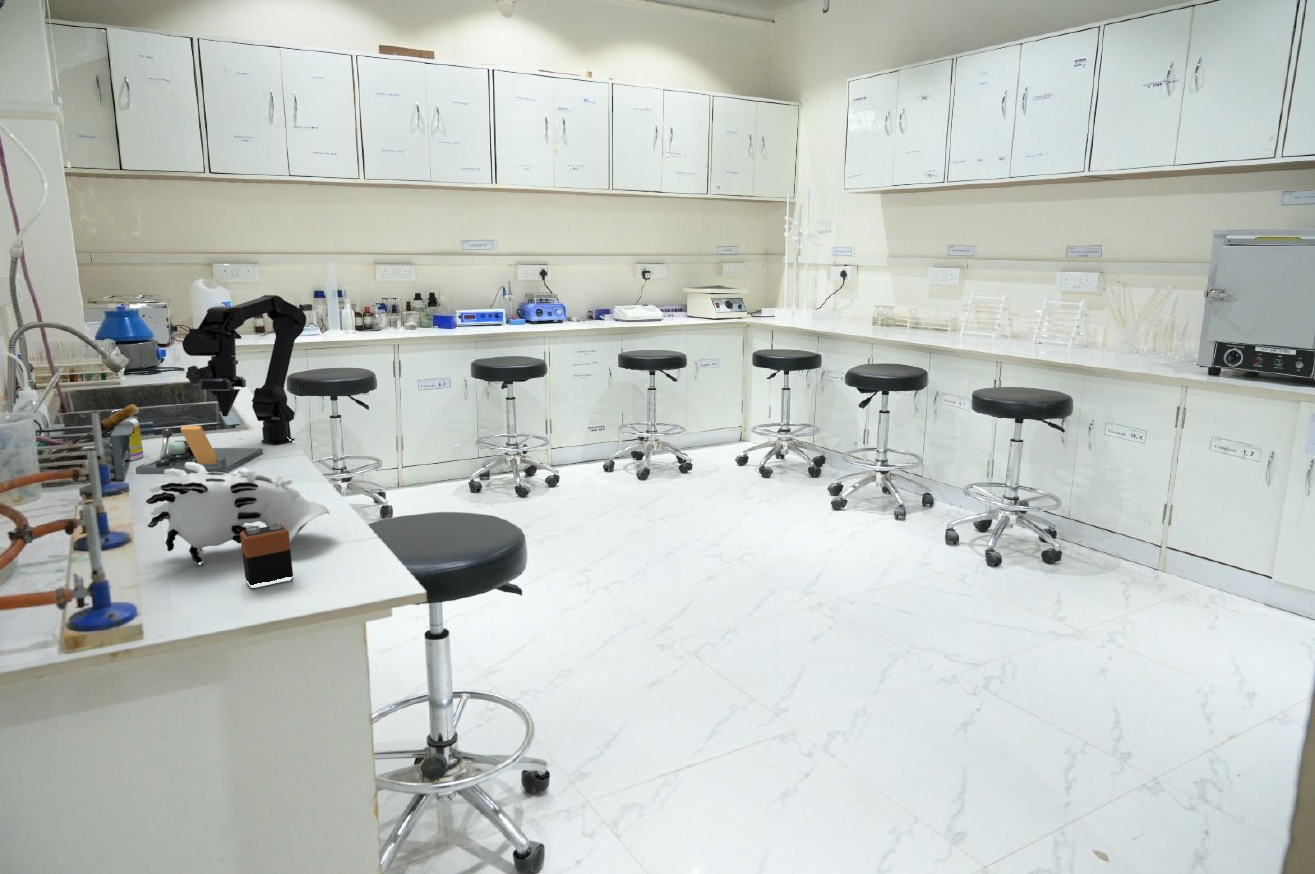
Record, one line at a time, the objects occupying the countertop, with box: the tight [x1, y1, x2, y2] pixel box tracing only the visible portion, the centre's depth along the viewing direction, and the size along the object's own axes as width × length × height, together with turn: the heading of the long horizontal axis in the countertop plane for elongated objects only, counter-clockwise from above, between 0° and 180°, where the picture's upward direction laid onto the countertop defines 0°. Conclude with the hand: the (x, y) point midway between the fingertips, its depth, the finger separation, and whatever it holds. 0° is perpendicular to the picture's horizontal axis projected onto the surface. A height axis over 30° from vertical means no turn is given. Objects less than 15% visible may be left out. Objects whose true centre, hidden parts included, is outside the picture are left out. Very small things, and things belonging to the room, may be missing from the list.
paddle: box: [180, 425, 218, 467], centre depth 202 cm, size 2×5×13 cm
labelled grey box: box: [174, 439, 189, 446], centre depth 220 cm, size 7×4×1 cm, turn 0°
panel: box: [135, 446, 264, 475], centre depth 215 cm, size 21×22×4 cm
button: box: [167, 440, 185, 454], centre depth 214 cm, size 4×4×2 cm
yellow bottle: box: [111, 408, 144, 461], centre depth 218 cm, size 7×7×13 cm
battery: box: [240, 523, 294, 585], centre depth 140 cm, size 4×7×10 cm, turn 127°
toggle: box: [159, 427, 174, 459], centre depth 209 cm, size 2×2×8 cm
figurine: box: [145, 462, 330, 564], centre depth 153 cm, size 17×16×30 cm
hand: (225, 416), depth 218 cm, fingers closed
